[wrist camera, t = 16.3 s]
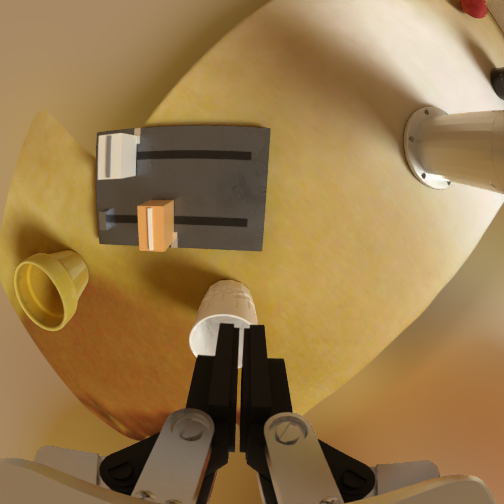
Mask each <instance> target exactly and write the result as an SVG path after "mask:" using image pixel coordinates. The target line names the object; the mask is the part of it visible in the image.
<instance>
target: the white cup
mask: <svg viewBox="0 0 504 504" xmlns="http://www.w3.org/2000/svg"><path fill="white" fill-rule="evenodd" d="M220 323H230V324H234V327H235V328H240V330H239V354H238V368H241V367H242V356H243V339H244V328H250V325H258V321H257V316H256V311H255V307H254V303H253V299H252V296H251V293H250V291H249V289H248V288H246V287H245V286H244V285H243V284H242V283H240V282H237V281H234V280H231V279H230V280H220V281H218V282H216V283H215V284H213V285H211V286H210V287H209V289H208V290H207V292H206V294H205V296H204V298H203V300H202V302H201V305H200V307H199V310H198V312H197V315H196V318H195V321H194V324H193V326H192V329H191V332H190V335H189V344H190V348H191V350H192V352H193V354H194V355H195V356H196V357H197V356H198V355H209V356H215V352H216V345H217V338H218V332H219V325H220Z"/></svg>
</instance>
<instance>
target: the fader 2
mask: <svg viewBox="0 0 504 504" xmlns="http://www.w3.org/2000/svg"><path fill="white" fill-rule="evenodd" d="M137 210H138V234H139V250H140V251H158V252H165V251H166V249H167V248H168V247H169V246H170V245H171V243H172V242H173V241H174V200H149V201H147V202H145V203H143V204H141V205H138V206H137Z"/></svg>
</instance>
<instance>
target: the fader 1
mask: <svg viewBox="0 0 504 504" xmlns="http://www.w3.org/2000/svg"><path fill="white" fill-rule="evenodd" d="M136 147H137V136H135V135H130V134H125V133H117V134H108V135H100V136H99V142H98V180H103V179H122V178H127V177H132V176H136Z"/></svg>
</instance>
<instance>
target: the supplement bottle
mask: <svg viewBox="0 0 504 504" xmlns="http://www.w3.org/2000/svg"><path fill="white" fill-rule="evenodd" d="M491 81H492V84H493V87H494V89H495V91H496V93H497V95H498V96H499V97H500V98H501V99H503V100H504V67H502V68H496V69H493V70H492V72H491Z"/></svg>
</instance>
